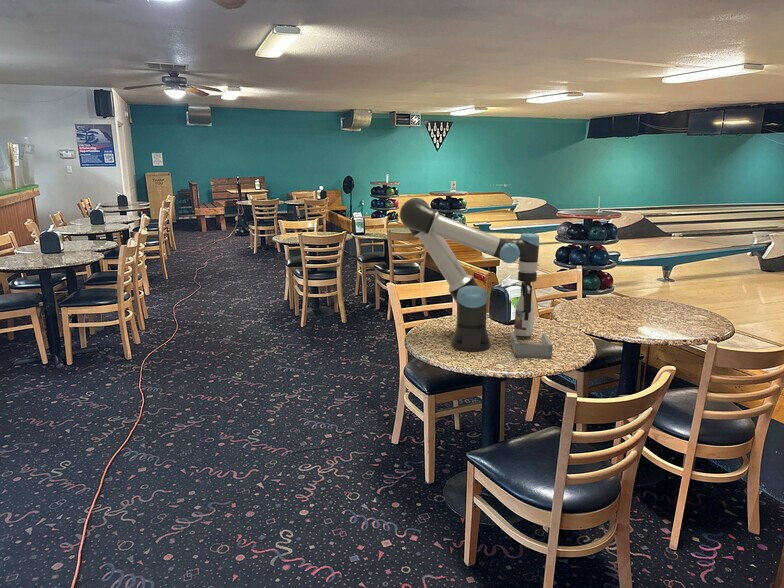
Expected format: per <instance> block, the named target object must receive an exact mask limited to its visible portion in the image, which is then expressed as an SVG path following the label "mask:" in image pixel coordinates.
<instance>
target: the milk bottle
mask: <svg viewBox="0 0 784 588" xmlns="http://www.w3.org/2000/svg"><path fill="white" fill-rule="evenodd" d="M524 294H525V293H524ZM532 298H533V297H531V312H530V317H529V328H522V317H523V313H522V311H524V296H523V290H522V288H521V287H520V297H519V298H518V301H517V303H516V306H515V311H514V324H513V325H514V327H513V328H514V329H513V330H514V331H513V332H515V335H516V336H519V337H530V336H532V335H533V332H534V323H535V322H534V321H535V303H534V301H533V299H532Z"/></svg>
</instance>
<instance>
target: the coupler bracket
mask: <svg viewBox="0 0 784 588" xmlns="http://www.w3.org/2000/svg"><path fill="white" fill-rule="evenodd" d="M510 333H511V335H510V345H511V348H512V351H513V354H514V357H515V358H525V359H553V348H554V347H553V344H552V342H551V340H550V339H549V337H548V335H547V333H546V332H542V333H541V343H540V342H519V340H518V337H517V335H516V334H515V332H514V331H511V332H510Z"/></svg>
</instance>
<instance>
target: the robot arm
mask: <svg viewBox="0 0 784 588" xmlns="http://www.w3.org/2000/svg"><path fill="white" fill-rule="evenodd" d="M399 219H400V222H401V223H402V225H403V226H405V227H406V228H408V230H409V232H410V233H411V235H412V236H413V237H414V238H418V239H419V241H420V242H421V243H422V245H423V246H424V248H425V250H426V251H427V252H428V254H429V256H430V257H431V259H432V260H433V263H435V265H436V267H437V268H438V270H439V271H440V273H441V274H442V276H443V278H444V279H445V281H446V282H447V284H448V285H449V286H448V292H449V294H450V295H451V297H452V298H453V299H454V301H455V303H456V328H455V331H454V333H453V336H452V340H451V347H453V348H454V349H456V350H459V351H464V352H483V351H487V350H489V349H490V346H491V340H490V337H489V333H488V329H487V311H488V306H487V305H488V299H489V298H488V292H487V290H486V289H485V288H483V287H481V286H480V285H479V284H478V283H477V281H476V279H475V278H474V277H473V275H471V274H467V273H466V271H465V268H464V267H463V266H462V264H461V263H460V261H459V259H458V258H457V256H456V255H455V254H454V252H453V250H452V249H451V247H450V245H449V244H448V242H447V241H446V240H449V241H452V242H455V243H457V244H459V245H462V246H465V247H468V248H470V249H472V250H476V251H478V252H480V253H483V254H486V255H488V256H491V257H493V258H496V259H498V260H501V261H502V262H503V263H506V264H513V263H515V262H517V261H518V266H517V267H518V273H517V280H518V281H519V282H521V283H520V284H521V285H520V286H521V287H520V289H521V288H522V290H523V296H524V311H522V313H523V317H522V328H529V317H530V312H531V298H532V294H533V285H532V283H534V282H537V279H538V277H537V276H538V272H537V271H538V267H539V266H540V264H539V263H538V262H539V251H540V236H539V235H538V234H537V233H531V232H530V233H522V234H520V237H519V238H507V237H505V238H502V237H498V236H495V235H493V234H490V233H488V232H486V231H482V230H480V229H477V228H475V227H472V226H470V225H467V224H466V223H465V224H464V223H463V222H460V221H457V220H455V219H453V218H452V219H451V218H449V217H446V216H444V215H441V214H440V213H439V211H438V210H435V209H433V208H431V207H430V205H429V204H428V202H427V201H425V200H424V199H422V198H419V197H413V198H409V199H408V200H406V201H405V202H404V203H403V204H402V206H401V208H400V210H399ZM445 239H446V240H445ZM524 293H525V294H524Z"/></svg>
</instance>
